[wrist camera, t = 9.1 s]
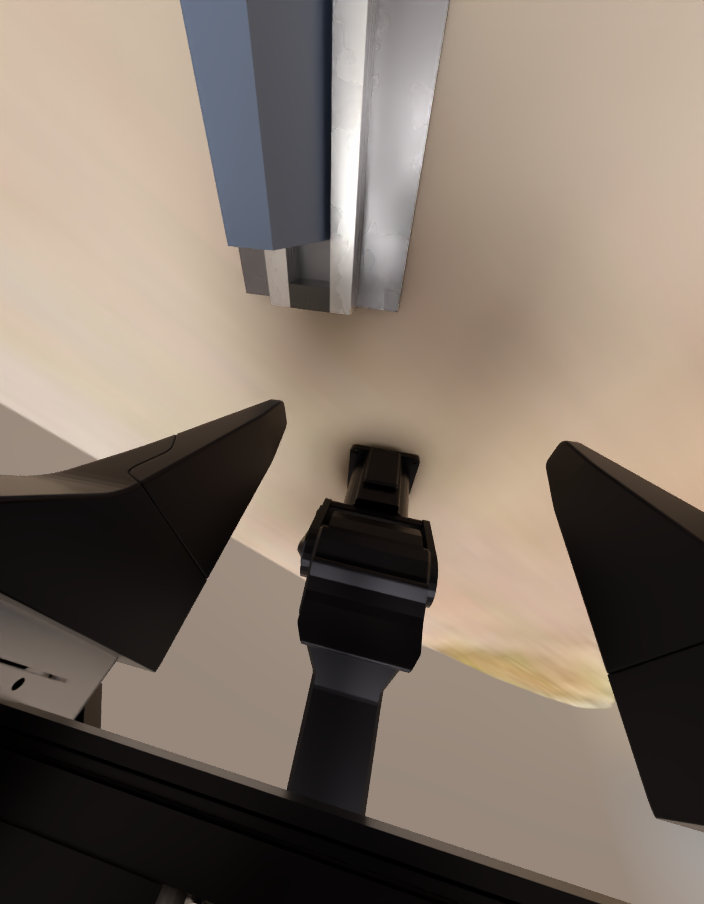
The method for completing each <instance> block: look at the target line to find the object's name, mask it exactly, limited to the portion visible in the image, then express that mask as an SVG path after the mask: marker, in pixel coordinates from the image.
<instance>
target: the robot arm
mask: <svg viewBox="0 0 704 904" xmlns="http://www.w3.org/2000/svg"><path fill="white" fill-rule="evenodd" d="M286 425H287V420H286V413H285V406H284V403H283V402H282V401H280V400H273V399H271V400H268V401H265V402H263V403H260V404H257V405H254V406H252V407H249V408H246V409H244V410H241V411H238V412H235V413H233V414H230V415H227V416H224V417H222V418H219V419H216V420H214V421H211V422H208V423H205V424H203V425H200V426H197V427H195V428H192V429H189V430H186V431H184V432H181V433H178V434H177V435H173V436H170V437H167V438H164V439H162V440H159V441H156V442H153V443H150V444H147V445H145V446H141V447H138V448H135V449H132V450H129V451H126V452H123V453H120V454H116V455H113V456H110V457H107V458H104V459H100V460H97V461H94V462H91V463H88V464H84V465H81V466H78V467H75V468H71V469H68V470H64V471H61V472H56V473H51V474H44V475H35V476H11V475H0V904H190V903H196V904H630V903H627V902H624V901H621V900H618V899H615V898H612V897H609V896H606V895H603V894H600V893H597V892H594V891H591V890H588V889H585V888H582V887H579V886H576V885H573V884H570V883H567V882H563V881H561V880H557V879H554V878H551V877H548V876H545V875H542V874H539V873H536V872H533V871H530V870H527V869H524V868H521V867H518V866H515V865H512V864H509V863H506V862H503V861H499V860H497V859H494V858H490V857H488V856H485V855H482V854H479V853H476V852H473V851H469V850H466V849H463V848H460V847H457V846H454V845H451V844H448V843H445V842H442V841H439V840H436V839H433V838H430V837H427V836H424V835H421V834H418V833H415V832H412V831H409V830H406V829H402V828H400V827H397V826H393V825H390V824H388V823H384V822H381V821H378V820H375V819H372V818H369V817H366V816H365V812H366V804H367V798H368V791H369V784H370V777H371V770H372V763H373V756H374V750H375V743H376V736H377V729H378V722H379V715H380V708H381V702H382V696H383V691H384V689H385V688H386V687H387V686H388V684H389V683H390V682H391V680H392V679H393V678H394V677H395V675H396V674H397V673H398V671H399V670H400V671H404V672H408V673H409V672H411V671H412V669H413V667H414V666H415V664H416V662H417V660H418V659H419V657H420V654H421V645H422V630H423V621H424V614H425V608H426V607H427V608H429V607H430V606H431V604H432V602H433V600H434V597H435V593H436V587H437V579H438V561H437V555H436V550H435V545H434V540H433V535H432V531H431V526H430V521H426V520H422V521H421V520H416V519H412V518H408V500H409V494H410V491H411V488H412V485H413V482H414V479H415V476H416V473H417V470H418V467H419V463H420V459H419V457H418V456H415V455H409V454H404V453H398V452H393V451H387V450H382V449H376V448H371V447H365V446H360V445H353V446H352V447H351V450H350V462H349V474H348V486H347V493H346V496H345V500H344V503H340V502H335V501H332V499H327V498H326V499H325V501H324V503H323V505H321V506H320V508H319V510H317V513H316V515H315V518H314V520H313V522H312V524H311V526H310V528H309V530H308V532H307V533H306V534H305V536H304V537H303V538H302V540H301V541H300V543H299V545H298V552H299V554H300V556H301V567H300V575H301V576H303V577H307V579H306V583H305V587H304V592H303V596H302V600H301V605H300V609H299V618H298V629H299V636H300V641H301V643H302V644H305V645H307V648H308V652H309V656H310V660H311V664H312V668H313V674H312V679H311V684H310V688H309V692H308V697H307V702H306V706H305V710H304V715H303V719H302V724H301V728H300V733H299V737H298V742H297V746H296V751H295V755H294V760H293V764H292V769H291V773H290V778H289V782H288V786H287V790H284V789H281V788H278V787H275V786H272V785H269V784H266V783H263V782H260V781H257V780H254V779H251V778H248V777H245V776H242V775H239V774H236V773H232V772H230V771H226V770H224V769H221V768H217V767H214V766H211V765H208V764H205V763H202V762H199V761H196V760H193V759H190V758H187V757H184V756H181V755H178V754H175V753H172V752H169V751H166V750H163V749H160V748H156V747H154V746H151V745H148V744H145V743H141V742H139V741H135V740H133V739H130V738H127V737H123V736H120V735H117V734H114V733H111V732H108V731H105V730H102V729H101V699H102V684H101V682H102V680H103V679H104V678H105V676H106V675H107V673H108V672H109V671H110V669H111V668H112V666H113V665H114V664H115V662H116V661H117V662H121V663H124V664H127V665H131V666H134V667H138V668H141V669H145V670H148V671H152V672H156V670H157V669H158V667H159V666H160V664H161V662H162V661H163V659H164V657H165V655H166V653H167V652H168V650H169V648H170V646H171V644H172V642H173V640H174V639H175V637H176V635H177V633H178V632H179V630H180V628H181V626H182V624H183V623H184V621H185V619H186V617H187V615H188V614H189V612H190V610H191V608H192V606H193V604H194V602H195V601H196V599H197V597H198V595H199V594H200V592H201V590H202V588H203V586H204V585H205V583H206V581H207V578H208V577H209V575H210V573H211V571H212V570H213V568H214V566H215V564H216V562H217V561H218V559H219V557H220V555H221V553H222V551H223V550H224V548H225V546H226V544H227V542H228V540H229V539H230V537H231V535H232V533H233V532H234V530H235V528H236V526H237V524H238V523H239V521H240V519H241V517H242V515H243V514H244V512H245V510H246V508H247V506H248V505H249V503H250V501H251V499H252V497H253V495H254V494H255V492H256V490H257V488H258V486H259V485H260V483H261V481H262V479H263V477H264V476H265V474H266V472H267V470H268V468H269V466H270V465H271V463H272V461H273V458H274V456H275V454H276V451H277V449H278V446H279V444H280V441H281V439H282V436H283V434H284V431H285V429H286ZM355 450H358V451H355ZM413 460H415V461H413ZM546 470H547V476H548V481H549V486H550V492H551V497H552V502H553V507H554V511H555V514H556V517H557V520H558V524H559V527H560V530H561V533H562V536H563V539H564V542H565V545H566V548H567V551H568V554H569V557H570V560H571V564H572V567H573V570H574V573H575V576H576V579H577V582H578V585H579V588H580V591H581V594H582V597H583V600H584V604H585V607H586V610H587V613H588V616H589V619H590V622H591V625H592V628H593V631H594V634H595V637H596V641H597V644H598V647H599V650H600V653H601V656H602V659H603V662H604V665H605V668H606V671H607V673H608V678H609V681H610V684H611V687H612V691H613V694H614V697H615V700H616V703H617V706H618V709H619V712H620V715H621V718H622V721H623V724H624V728H625V730H626V733H627V737H628V740H629V743H630V746H631V749H632V752H633V755H634V758H635V762H636V765H637V768H638V771H639V774H640V777H641V780H642V783H643V786H644V789H645V792H646V795H647V799H648V801H649V804H650V807H651V809H652V811H653V814H654V816H655V817H656V818H657V819H660V820H664V821H667V822H670V823H674V824H677V825H681V826H684V827H688V828H691V829H695V830H698V831H701V832H704V512H703V511H701V510H699V509H697V508H695V507H694V506H692V505H690V504H688V503H686V502H685V501H683V500H681V499H679V498H677V497H676V496H674V495H672V494H670V493H669V492H667V491H665V490H663V489H661V488H660V487H658V486H656V485H654V484H652V483H651V482H649V481H647V480H645V479H643V478H642V477H640V476H638V475H636V474H635V473H633V472H631V471H629V470H627V469H626V468H624V467H622V466H620V465H618V464H617V463H615V462H613V461H611V460H609V459H608V458H606V457H604V456H602V455H601V454H599V453H597V452H595V451H593V450H592V449H590V448H588V447H586V446H584V445H583V444H581V443H578V442H572V441H562V442H561V443H559V445H558V446H557V447H556V449H555V450H554V452H553V453H552V455H551V456H550V457H549V459H548V461H547V463H546Z"/></svg>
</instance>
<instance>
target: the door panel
mask: <svg viewBox="0 0 704 904" xmlns="http://www.w3.org/2000/svg"><path fill="white" fill-rule="evenodd" d="M180 3H181V8H182V14H183V19H184V24H185V29H186V34H187V39H188V44H189V49H190V54H191V59H192V64H193V70H194V75H195V80H196V85H197V90H198V95H199V100H200V105H201V110H202V115H203V121H204V126H205V131H206V136H207V141H208V146H209V151H210V156H211V161H212V166H213V172H214V177H215V182H216V187H217V192H218V197H219V202H220V207H221V212H222V217H223V223H224V228H225V233H226V238H227V243H228V246H234V247H243V248H253V249H262V250H272V251H274V250H279V249H284V248H289V247H294V246H300V245H305V244H310V243H315V242H321V241H326V240H330V237H331V129H332V21H333V0H180Z"/></svg>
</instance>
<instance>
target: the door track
mask: <svg viewBox="0 0 704 904" xmlns="http://www.w3.org/2000/svg"><path fill="white" fill-rule="evenodd" d="M449 1H450V0H333V21H332V129H331V237H330V240H326V241H321V242H315V243H310V244H305V245H300V246H294V247H289V248H284V249H279V250H274V251H272V250H262V249H253V248H243V247H239V253H240V259H241V264H242V270H243V276H244V282H245V287H246V293H250V294H258V295H266V296H270V301H271V305H276V306H283V307H291V308H299V309H307V310H314V311H322V312H330V313H338V314H345V315H351V313H352V312H353V311H354V309H355V308H356V307H362V308H370V309H378V310H386V311H394V312H398V308H399V302H400V296H401V290H402V284H403V278H404V272H405V266H406V260H407V254H408V248H409V242H410V236H411V230H412V224H413V218H414V212H415V206H416V200H417V194H418V188H419V182H420V176H421V170H422V164H423V158H424V152H425V146H426V140H427V134H428V128H429V122H430V116H431V110H432V104H433V98H434V92H435V86H436V80H437V74H438V68H439V62H440V56H441V49H442V43H443V37H444V31H445V25H446V19H447V13H448V7H449Z"/></svg>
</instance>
